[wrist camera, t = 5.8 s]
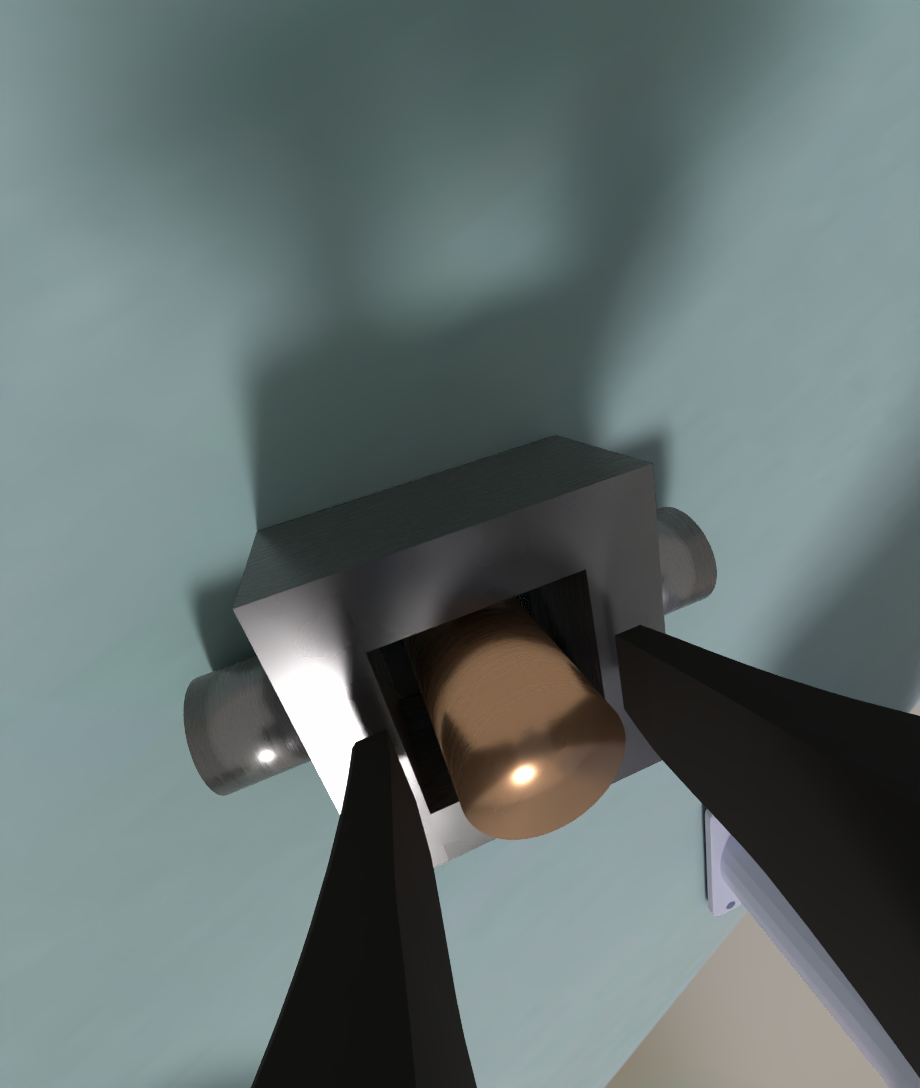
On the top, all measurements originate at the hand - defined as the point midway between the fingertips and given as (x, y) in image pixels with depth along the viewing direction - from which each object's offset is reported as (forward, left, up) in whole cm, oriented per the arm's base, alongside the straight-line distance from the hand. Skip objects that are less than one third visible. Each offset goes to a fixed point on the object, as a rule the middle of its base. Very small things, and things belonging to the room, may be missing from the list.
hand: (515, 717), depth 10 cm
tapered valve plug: (0, 0, -5) cm, 5 cm away
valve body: (0, 0, -5) cm, 5 cm away
